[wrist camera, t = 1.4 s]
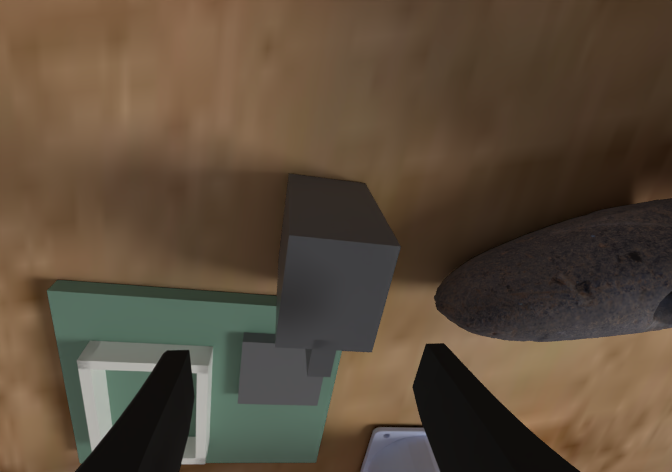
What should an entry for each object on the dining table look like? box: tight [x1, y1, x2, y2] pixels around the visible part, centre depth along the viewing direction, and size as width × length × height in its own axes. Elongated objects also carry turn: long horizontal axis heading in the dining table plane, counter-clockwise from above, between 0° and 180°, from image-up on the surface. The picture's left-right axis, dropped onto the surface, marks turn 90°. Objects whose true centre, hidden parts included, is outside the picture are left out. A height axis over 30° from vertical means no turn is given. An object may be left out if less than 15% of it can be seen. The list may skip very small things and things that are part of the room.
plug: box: [275, 174, 401, 377], centre depth 18 cm, size 4×6×7 cm, turn 170°
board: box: [47, 280, 342, 464], centre depth 24 cm, size 16×14×2 cm
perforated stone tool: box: [434, 198, 672, 342], centre depth 20 cm, size 15×5×7 cm, turn 102°
